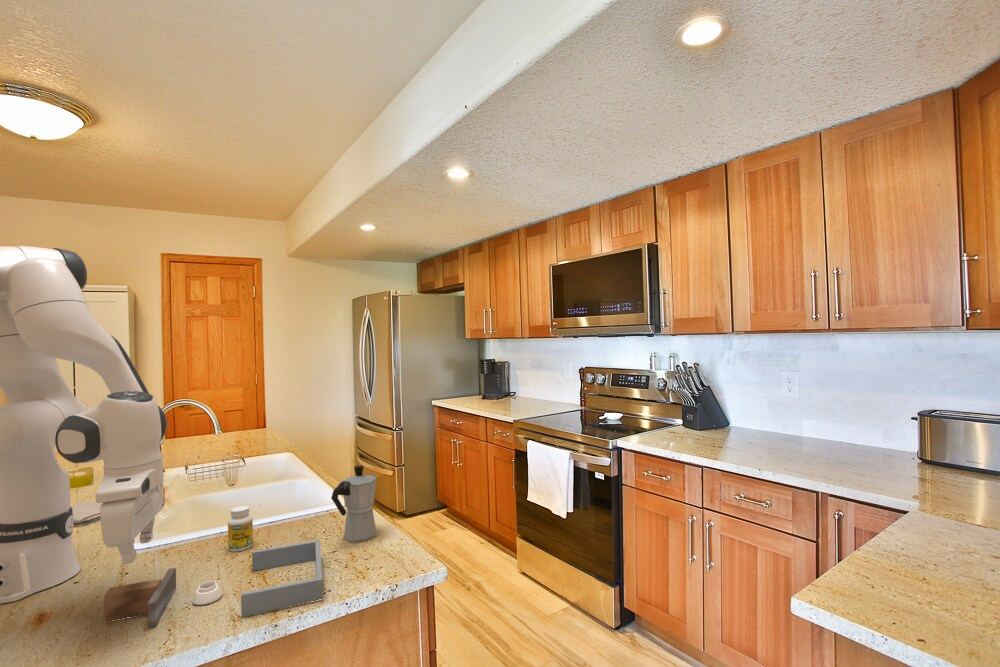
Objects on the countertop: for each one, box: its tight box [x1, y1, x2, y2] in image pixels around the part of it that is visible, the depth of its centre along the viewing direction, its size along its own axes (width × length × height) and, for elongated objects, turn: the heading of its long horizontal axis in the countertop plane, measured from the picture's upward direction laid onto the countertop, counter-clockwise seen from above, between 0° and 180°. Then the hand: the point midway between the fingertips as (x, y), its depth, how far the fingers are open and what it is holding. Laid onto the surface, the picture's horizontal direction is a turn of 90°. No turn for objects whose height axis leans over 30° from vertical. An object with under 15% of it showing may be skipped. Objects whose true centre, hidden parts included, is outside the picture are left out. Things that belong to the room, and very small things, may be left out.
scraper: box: [103, 567, 177, 630], centre depth 89 cm, size 9×14×5 cm, turn 22°
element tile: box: [65, 466, 94, 490], centre depth 173 cm, size 15×15×5 cm
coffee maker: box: [331, 464, 378, 544], centre depth 122 cm, size 15×9×18 cm, turn 149°
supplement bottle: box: [227, 505, 254, 553], centre depth 117 cm, size 5×5×10 cm
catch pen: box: [240, 539, 324, 618], centre depth 99 cm, size 14×20×4 cm
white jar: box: [191, 580, 223, 606], centre depth 93 cm, size 5×3×5 cm
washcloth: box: [70, 501, 102, 528], centre depth 140 cm, size 12×18×3 cm, turn 77°
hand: (138, 551), depth 89 cm, fingers open, 8 cm apart
